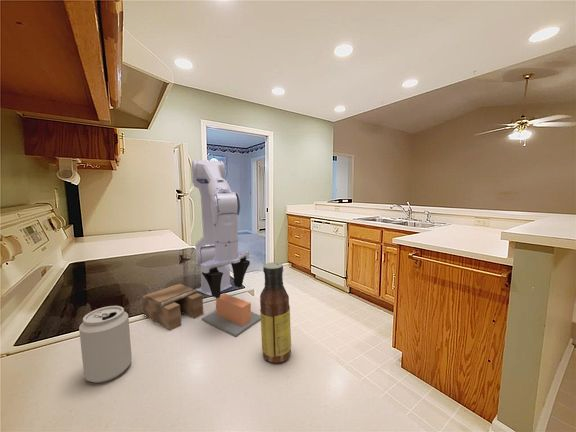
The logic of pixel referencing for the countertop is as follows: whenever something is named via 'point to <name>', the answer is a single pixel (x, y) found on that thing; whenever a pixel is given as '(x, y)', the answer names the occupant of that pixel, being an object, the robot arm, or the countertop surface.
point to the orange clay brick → (233, 309)
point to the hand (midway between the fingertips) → (227, 291)
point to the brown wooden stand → (172, 305)
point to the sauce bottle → (275, 315)
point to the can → (105, 343)
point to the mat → (230, 323)
